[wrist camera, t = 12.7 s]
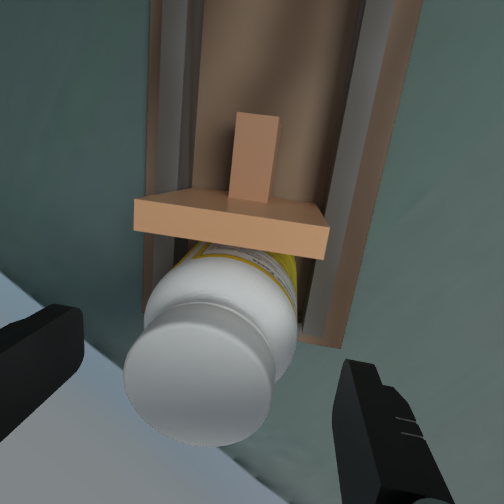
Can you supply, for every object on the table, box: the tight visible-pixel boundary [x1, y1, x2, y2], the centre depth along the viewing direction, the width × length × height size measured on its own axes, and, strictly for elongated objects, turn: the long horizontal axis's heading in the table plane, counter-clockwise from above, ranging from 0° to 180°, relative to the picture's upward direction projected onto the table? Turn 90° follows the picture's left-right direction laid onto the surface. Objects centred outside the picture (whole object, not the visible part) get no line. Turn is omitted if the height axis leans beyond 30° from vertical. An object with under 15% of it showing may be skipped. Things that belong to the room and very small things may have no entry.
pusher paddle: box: [134, 112, 330, 260], centre depth 14 cm, size 7×5×8 cm
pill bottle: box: [123, 241, 297, 447], centre depth 14 cm, size 6×6×11 cm
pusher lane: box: [142, 0, 423, 349], centre depth 14 cm, size 14×26×9 cm, turn 173°
